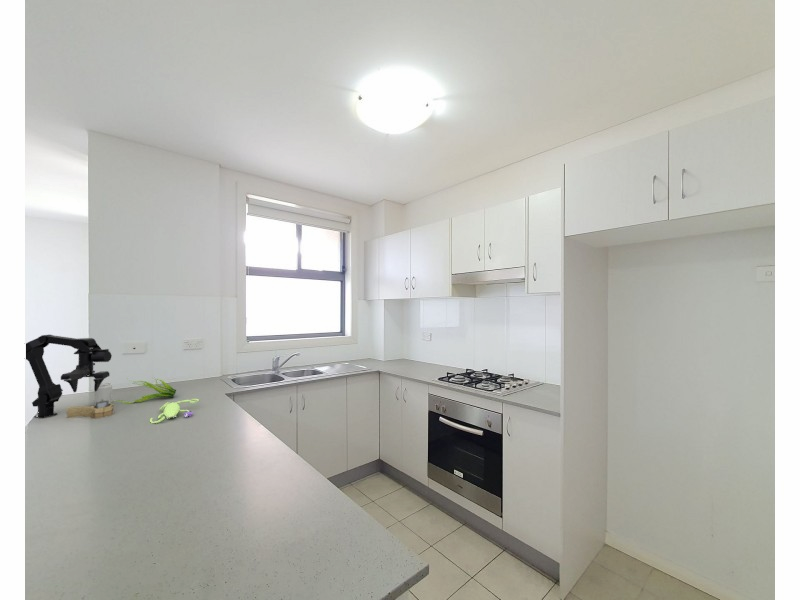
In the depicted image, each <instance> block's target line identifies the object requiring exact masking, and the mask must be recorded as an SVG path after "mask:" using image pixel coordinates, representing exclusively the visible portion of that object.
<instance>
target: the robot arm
mask: <svg viewBox="0 0 800 600" xmlns="http://www.w3.org/2000/svg"><path fill="white" fill-rule="evenodd" d="M50 344H54V345H58V346H59V345H60V346H65V347H72V348H73V349H74V350H75V349H76V351H74V353H73V355H78V361H77V362H78V364H77V365H76V366H75V369H73V370H72V371H71V372H65V373H62V374H61V375H60V380H61V381H63V382H66V383H68V384H69V386H70V387H71V389H72V392H73V393H76V392H77V390H78V384H79V380H81V379H82V378H94V379H93V382H94V386H93V387H94V390H93V391H94V392H95V391H97V390H98V388H99V386H100V384H102V383H103V381H104V380H105V379H106V378H108V377H110V374H111V373H110V372H109V371H107V370H106V371H104V370H103V371H102V370H101V371H98V372H97V371H96V370H94V366H96V363H108V362H110V361H111V360H112V353H111V351H110V349H109V348H105V349H102V348H101V346H100V345H99V344H98V343H97V341H96V339H94V338H92V337H82V338H81V337H80V338H75V337H74V338H73V337H68V336H61V335H53V334H42V335H40V336H38V337H37V338H35V339H32V340H30V341H28V342H26V359H25V360H26V361H28V364H29V365H30V368H31V370H32V373H33V374H34V377H35V378H34V379H36V382H37V385H38V389H37V398H35V399H34V400H33V401H32V402H31V404H32V407H34V408H35V407H37V415H38V417H39V418H38V417H36V418H38V419H44V418H47V417H52V416H56V415H58V413H57V412H55V403H56V402H59V400H60V398H61V397H62V395H63V391H64V390H63V388H62V386H61V384H60V383H58V384H55V383H54V382H53V379H52V377H51V375H50V372H49V370H48V367H47V365H46V363H45V361H44V358H43V357H44V355H45V354H44V353H45V348H46V347H48V346H49V345H50ZM38 412H39V413H38Z"/></svg>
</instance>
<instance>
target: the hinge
mask: <svg viewBox="0 0 800 600" xmlns="http://www.w3.org/2000/svg"><path fill="white" fill-rule="evenodd" d="M101 401H103V399H101ZM114 405H115V404H114V403H112V402H111V403H109V406H106V407H101V408H96V405H87V406H86V405H85V406H68V407H66V418H77V417H76V416H85V417H89V418H90V417H92V418H91V419H101V418H100V417H103V418H107V417H110V416H112V415H114V413H115V411H114V410H115V409H114V407H115V406H114ZM109 415H110V416H109ZM106 416H107V417H106Z"/></svg>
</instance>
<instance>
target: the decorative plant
mask: <svg viewBox="0 0 800 600" xmlns="http://www.w3.org/2000/svg"><path fill="white" fill-rule="evenodd" d="M152 379H154V380H155V384H156V386H155V385H154V384H152V383H150V382H147V381H143V380H140V381H139V380H138V381H136V385H138V386H144V387H148V388H151V389H153V390H155V391H156V392H158V393H152V394H147V395H145V396H142V397H141V398H142V399H140V398H138V399H136V400H134V401H131V402H130V401H123V400H120V399H115V400H112V401H111V403H112V402H120V403H123V404H129V403H132V404H134V403H133V402H138V403H142V402H145V401H149V400H151V399H155V398H172V397H173V398H174V396H175V394H176V392H177V389H174V388H173V387H172V386H171V385H170V384H168V383H166V381H164V380H162V379H159V378H155V377H152ZM127 380H129V381H130V379H129V378H127ZM157 380H158V381H160V382H157ZM131 382H132V384H135V382H134V381H132V380H131ZM158 383H160V384H162V385H159V384H158ZM141 401H142V402H141Z"/></svg>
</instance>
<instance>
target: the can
mask: <svg viewBox="0 0 800 600" xmlns="http://www.w3.org/2000/svg"><path fill="white" fill-rule="evenodd" d="M101 399H103V401H109V403H112V402H113V384H112V383H111V382H104V383H103V382H102V383H101V384H100V386H99V388H98V390H97V391H94V405H93V406H95V405H96V402H100V401H101ZM111 401H112V402H111Z"/></svg>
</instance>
